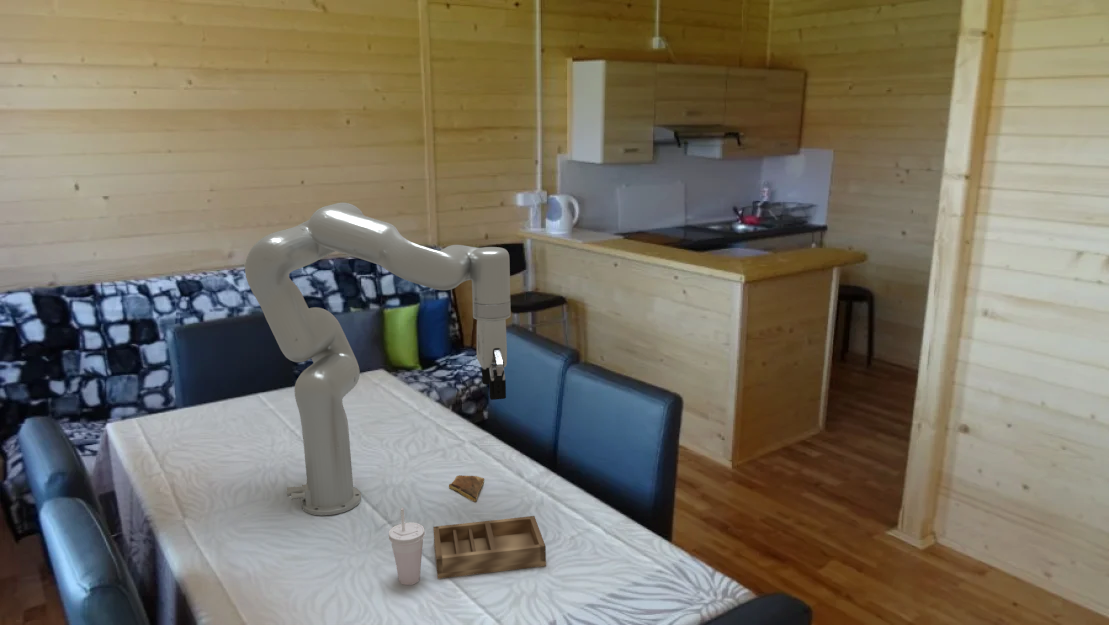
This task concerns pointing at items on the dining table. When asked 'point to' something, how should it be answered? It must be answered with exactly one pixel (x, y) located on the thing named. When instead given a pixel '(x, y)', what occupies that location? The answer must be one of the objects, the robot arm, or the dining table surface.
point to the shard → (467, 486)
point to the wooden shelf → (488, 547)
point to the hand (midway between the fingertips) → (493, 390)
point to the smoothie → (407, 550)
